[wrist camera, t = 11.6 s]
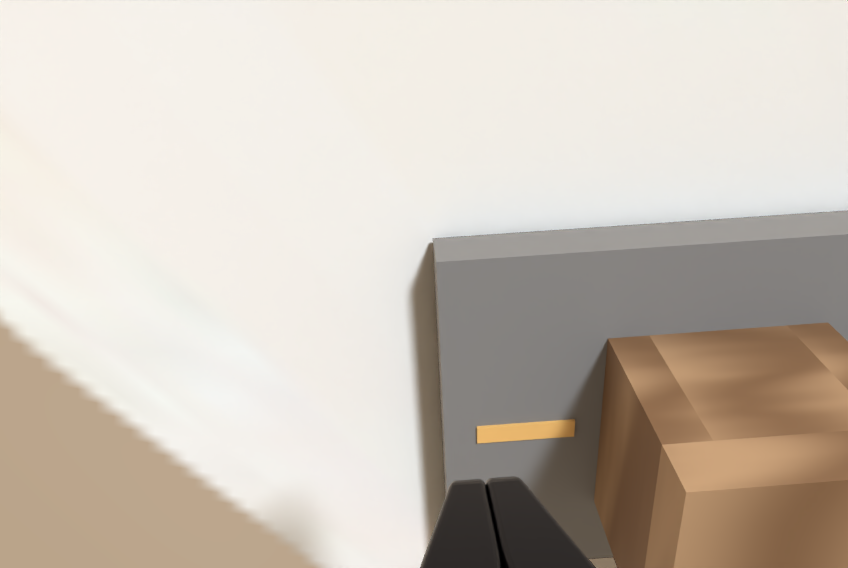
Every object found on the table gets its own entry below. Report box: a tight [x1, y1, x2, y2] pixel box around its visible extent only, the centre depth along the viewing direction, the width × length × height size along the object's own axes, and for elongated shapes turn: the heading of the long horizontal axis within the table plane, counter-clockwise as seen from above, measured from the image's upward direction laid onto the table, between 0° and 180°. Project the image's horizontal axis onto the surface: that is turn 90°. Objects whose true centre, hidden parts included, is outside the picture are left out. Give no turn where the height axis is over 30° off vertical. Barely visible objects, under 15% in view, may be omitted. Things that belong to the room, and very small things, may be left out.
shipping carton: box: [594, 322, 848, 568], centre depth 19 cm, size 6×6×6 cm
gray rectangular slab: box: [433, 211, 848, 559], centre depth 23 cm, size 16×12×2 cm
